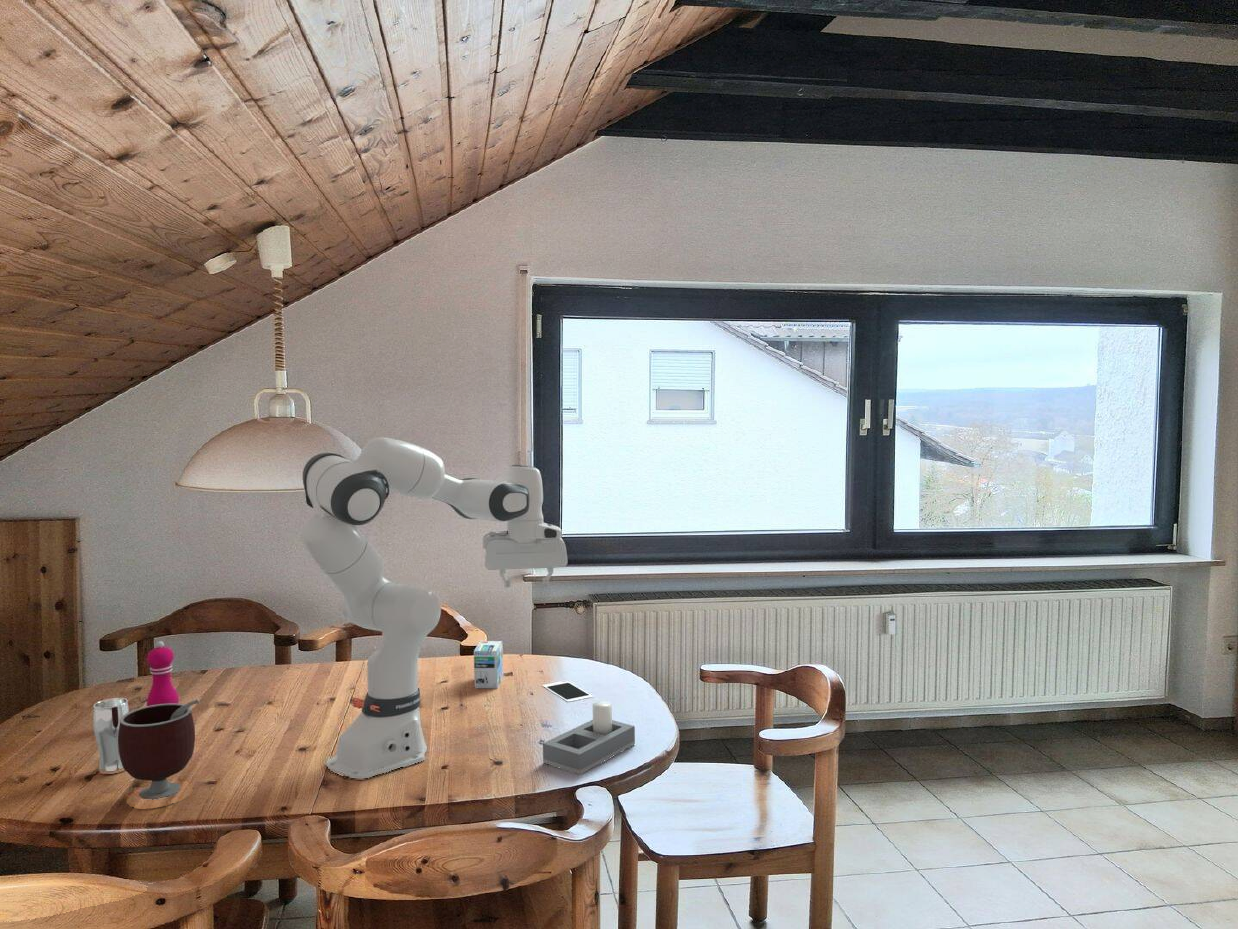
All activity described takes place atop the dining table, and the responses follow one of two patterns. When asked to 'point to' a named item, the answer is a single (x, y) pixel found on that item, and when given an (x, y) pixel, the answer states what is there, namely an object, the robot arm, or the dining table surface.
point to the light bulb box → (488, 664)
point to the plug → (602, 717)
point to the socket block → (587, 746)
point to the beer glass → (109, 731)
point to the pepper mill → (161, 676)
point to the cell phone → (567, 691)
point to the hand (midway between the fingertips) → (526, 586)
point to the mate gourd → (157, 745)
